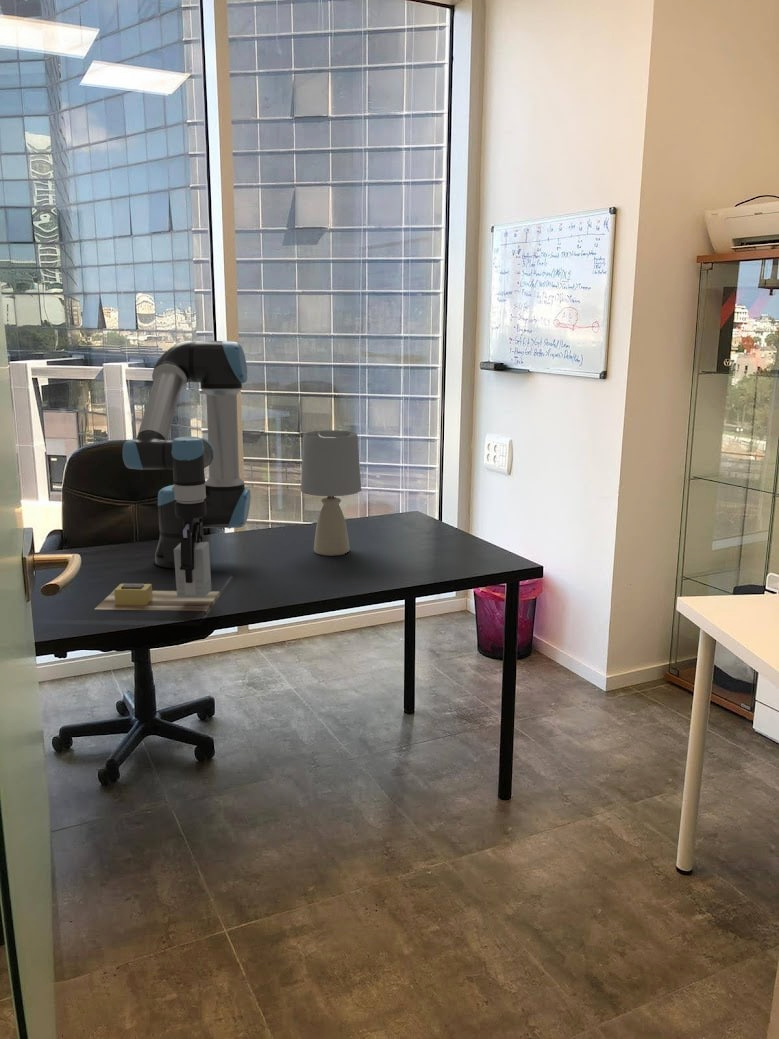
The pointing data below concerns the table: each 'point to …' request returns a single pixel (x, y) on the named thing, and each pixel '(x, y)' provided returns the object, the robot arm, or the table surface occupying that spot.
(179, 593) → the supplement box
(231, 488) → the robot arm
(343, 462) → the lamp
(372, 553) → the table surface
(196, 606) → the plywood panel
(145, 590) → the block
